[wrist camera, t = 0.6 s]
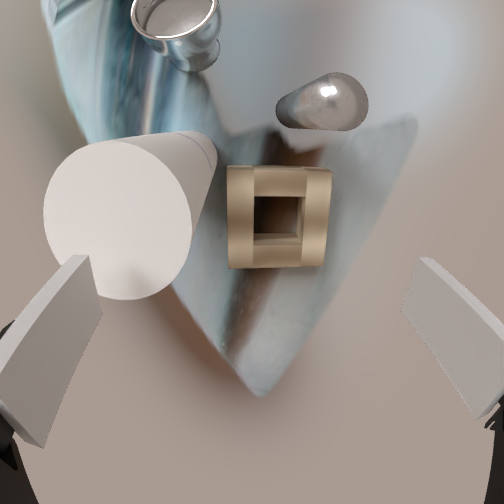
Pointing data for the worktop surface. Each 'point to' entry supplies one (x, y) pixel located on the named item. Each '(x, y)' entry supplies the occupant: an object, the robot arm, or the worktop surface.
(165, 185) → the cylindrical container
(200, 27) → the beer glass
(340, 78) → the peg
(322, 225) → the socket block
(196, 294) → the worktop surface
